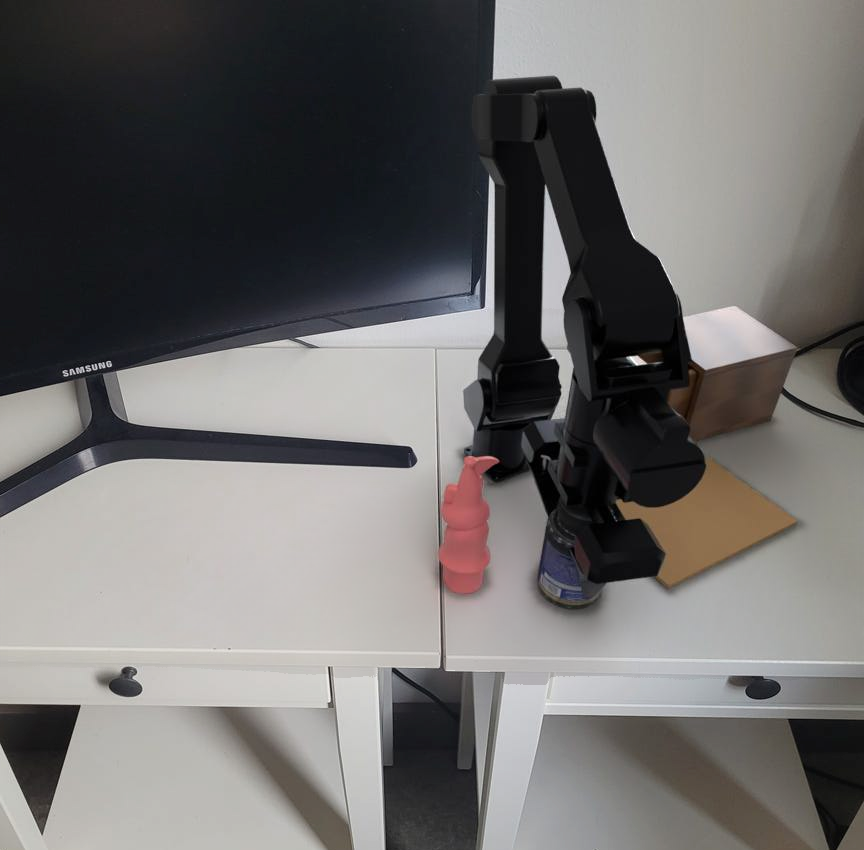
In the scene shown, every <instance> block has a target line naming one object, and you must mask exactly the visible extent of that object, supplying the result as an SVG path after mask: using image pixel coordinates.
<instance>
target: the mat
mask: <svg viewBox="0 0 864 850" xmlns="http://www.w3.org/2000/svg"><path fill="white" fill-rule="evenodd" d="M705 464H706V470H705V473H704V475H703V477H702V479H701V480H700V482H699V483H698V484H697V486H696V487H695V488H694V489H693V490H692V491H691V492H690V493H689V494H687V495H686V496H684V497H683V498H682V499H680V500H678V501H676V502H674V503H672V504H669V505H666V506H663V507H657V508H647V507H643V506H640V505H638V504H636V503H635V502H627V503H623V501H622V500H621V499H619V500H616V504H617V506H618V507H619V509H620V511H621V513H622V514H623V516H624V518H625V519H626V520H629V519H637V518H640V519H642V520H643V521H644V522H645V523H646V524H648V525H649V527H650V528H651V530H652V532H653V533H654V535H655V537H656V538H657V540H658V542H659V543H660V545H661V546H662V548H663V550H664V551H665V553H666V556H665V559H664V562H663V566H662V569H661V571H660V573H659V574H658V576H654V579H656V580H657V581H658V582H659V583H660V584H662V586H664V587H665V588H666V589H668V590H669V589H671V588H673V587H675V586H677V585H679V584H681V583H683V582H685V581H687V580H689V579H691V578H693V577H695V576H697V575H699V574H701V573H702V572H704V571H706V570H708V569H710V568H713V567H714V566H717V565H718V564H720V563H723V562H724V561H726V560H729V559H730V558H733V557H734V556H737V555H738V554H740V553H742V552H744V551H747V550H748V549H751V548H753V547H754V546H756V545H758V544H760V543H762V542H764V541H766V540H768V539H770V538H772V537H774V536H775V535H778V534H780V533H782V532H784V531H785V530H788V529H789V528H792V527H793V526H795V525H797V523H798V520H797V518H794V517H793V516H792V515H791V514H789V513H787V512H786V511H785V510H783V509H782V508H781V507H779V506H777V505H776V504H775V503H774V502H772V501H770V500H769V499H767V498H766V497H765V496H763V495H762V494H761V493H759V492H757V491H756V490H755V489H753V488H752V487H751V486H750V485H748V484H746V483H745V482H744V481H743V480H740V479H739V477H737V476H735V475H733V474H732V473H731V472H730V471H729V470H727V469H726V468H724V467H722V466H721V465H720V464H719V463H717V462H716V461H714V460H713V459H712V458H705Z"/></svg>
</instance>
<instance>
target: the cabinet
mask: <svg viewBox="0 0 864 850" xmlns="http://www.w3.org/2000/svg"><path fill="white" fill-rule="evenodd" d="M683 321H684V325H685V330H686V335H687V339H688V344H689V348H690V353H691V358H692V362H691V363H689V365H690V366H692V367H693V368H694V369H695V370H697V371H698V372H699V376H698V380H697V383H696V387H695V390H694V394H693V397H692V401H691V404H690V408H689V411H688V415H687V418H686V422H687V423H688V424H689V425H690V429H691V430H690V434H689V435H690V436H691V438H692V439H693V440H694V441H695V442H697V441H701V440H704V439H708V438H712V437H716V436H719V435H722V434H726V433H730V432H734V431H737V430H741V429H745V428H749V427H752V426H755V425H759V424H764V423H767V422H770V421H772V419H773V416H774V413H775V411H776V407H777V406H778V402H779V400H780V397H781V394H782V391H783V390H784V389H783V388H784V386H785V383H786V380H787V378H788V375H789V372H790V370H791V367H792V364H793V361H794V359H795V356H796V353H797V352H798V346H796V345H794V344H793V343H791V342H790V341H789V340H787V339H786V338H784V337H782V336H781V335H780V334H778V333H776V332H775V331H773V330H772V329H770V328H769V327H767V326H766V325H765V324H763V323H762V322H760V321H758V320H757V319H755V318H754V317H752V316H751V315H749V314H748V313H746V312H745V311H743V310H742V309H741V308H739V307H737V305H732V306H727V307H723V308H718V309H714V310H709V311H705V312H700V313H696V314H691V315H687V316H683Z"/></svg>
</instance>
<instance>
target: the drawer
mask: <svg viewBox="0 0 864 850" xmlns="http://www.w3.org/2000/svg"><path fill="white" fill-rule="evenodd" d="M632 358H633V359H634V361H635V362H636V363H637V364H638V365H643V364H651V363H659V362H664V360H663V356H662V353H655V354H647V355H639V356H632ZM688 368H689V377H690V386H689V388H684V389H677V390H670V391H669V395H668V399H667V403H668V404H669V405H670V406H671V407H672V409H673V410H674V411H675V412H676V413H678V414H679V415H681V416H682V417H683V418H684V419H685V421H686V418H687V415H688V411H689V408H690V404H691V401H692V397H693V394H694V390H695V387H696V383H697V380H698V376H699V372H698V371H697V370H695V369H694V368H693V367H692V366H690V365H689V364H688Z"/></svg>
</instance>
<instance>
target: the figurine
mask: <svg viewBox="0 0 864 850" xmlns="http://www.w3.org/2000/svg"><path fill="white" fill-rule="evenodd" d="M462 462H463V467H462V470H461V473H460V475H459V479H458V482H457V483H453V482H451V483H448V484H447V485H446V486H445V489H444V493H443V500H442V502H441V503H440V504H441V505H440V515H441V518H442V520H443V521H444V523H445V524H446V525H445V528H444V534H443V541H442V543H441V544H440V546H439V548H438V550H437V556H438V560H439V562H440V564H441V565H442V582H443V584H444V586H445V587H446V588H447V589H448V590H449V591H451V592H453V593H456V594H459V595H460V594H461V595H468V594H472V593H475V592H476V591H478V590H479V589H481V587H482V585H483V582H484V574H485V569H486V568H487V567H488V565H490V562H491V551H490V548H489V547H488V545H487V542H488V537H489V533H490V526H489V522H488V521H489V518H490V515H491V508H490V505H489V503H488V501H487V500H486V498H485V497H484V496H483V490H484V485H485V483H484V477H483V476H482V475H483V474H485V473H484V472H485V471H486V470H488V469H489V468H490V467H492V466H493V465H495V464H497V463H499V460H498V459H496V458H494V457H491V456H482V457H477V458H475V457H473V456H465V457H464V458H463V461H462Z"/></svg>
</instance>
